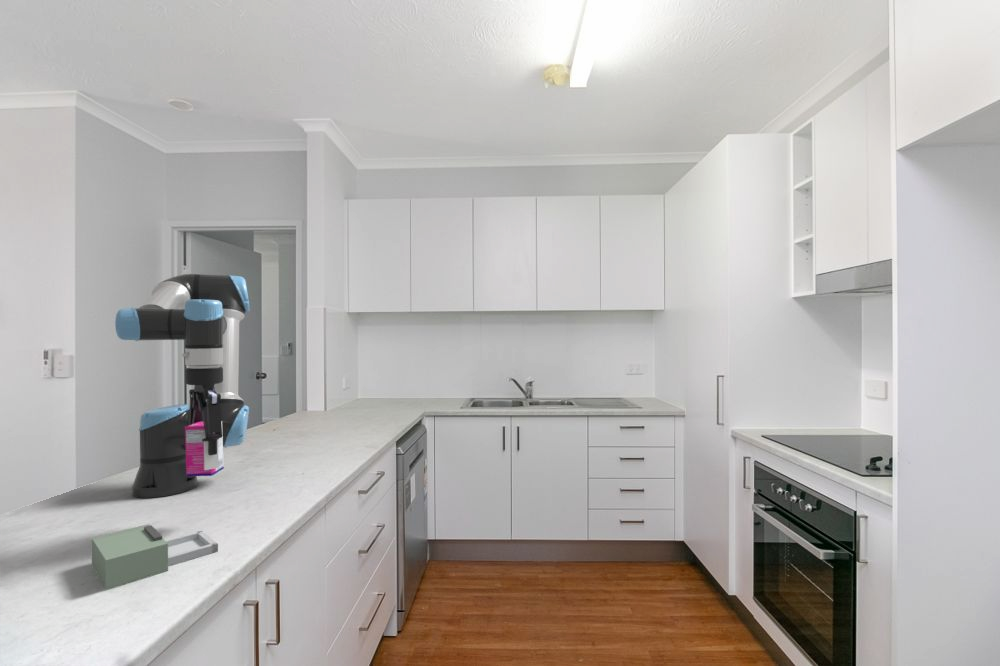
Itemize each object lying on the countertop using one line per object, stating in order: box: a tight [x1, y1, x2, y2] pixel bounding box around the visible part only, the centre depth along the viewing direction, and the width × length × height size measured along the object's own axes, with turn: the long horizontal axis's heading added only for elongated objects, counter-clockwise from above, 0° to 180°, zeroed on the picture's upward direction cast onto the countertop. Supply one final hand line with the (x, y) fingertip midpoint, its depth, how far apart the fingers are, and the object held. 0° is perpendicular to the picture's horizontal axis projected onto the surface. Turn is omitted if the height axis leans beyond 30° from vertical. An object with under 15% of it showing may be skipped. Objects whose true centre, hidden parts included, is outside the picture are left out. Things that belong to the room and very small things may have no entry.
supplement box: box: [185, 421, 225, 477], centre depth 113 cm, size 6×6×12 cm
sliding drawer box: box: [91, 523, 219, 590], centre depth 95 cm, size 14×18×6 cm
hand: (205, 464), depth 113 cm, fingers closed on supplement box, 8 cm apart
